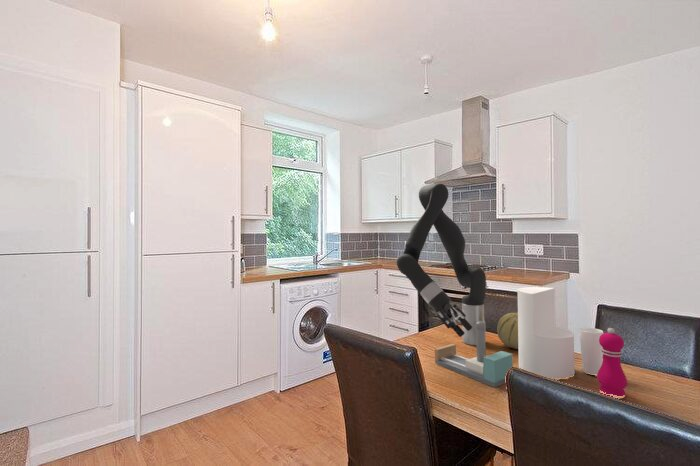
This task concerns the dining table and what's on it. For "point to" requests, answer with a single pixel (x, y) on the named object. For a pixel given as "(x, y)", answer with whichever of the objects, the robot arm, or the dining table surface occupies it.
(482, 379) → the rail bed
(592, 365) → the drinking glass
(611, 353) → the pepper mill
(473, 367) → the carriage
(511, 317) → the cantaloupe
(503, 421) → the dining table surface
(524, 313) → the white stepped block
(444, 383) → the dining table surface
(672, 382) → the dining table surface
